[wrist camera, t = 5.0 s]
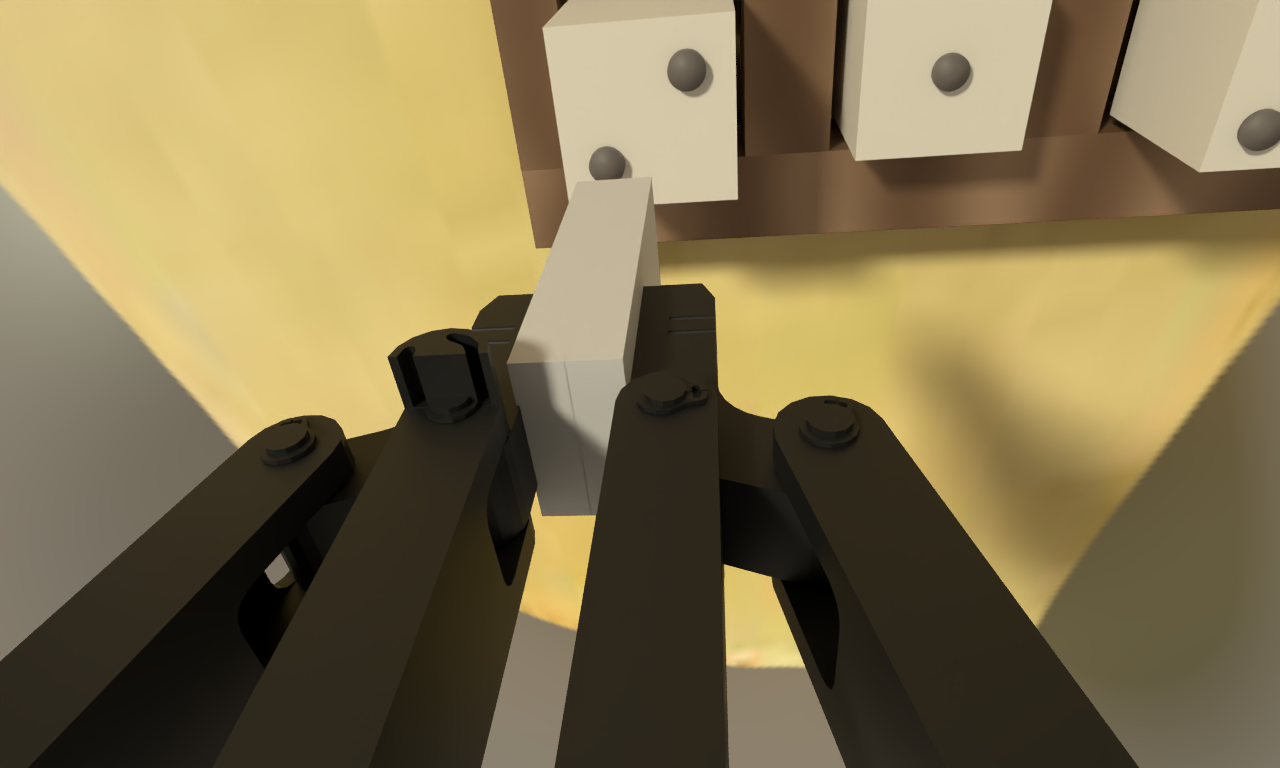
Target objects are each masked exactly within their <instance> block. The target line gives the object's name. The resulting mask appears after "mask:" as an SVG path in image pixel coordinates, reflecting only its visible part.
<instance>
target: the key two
mask: <svg viewBox="0 0 1280 768" xmlns="http://www.w3.org/2000/svg"><path fill="white" fill-rule="evenodd" d="M543 35H544V42H545V48H546V55H547V61H548V68H549V75H550V81H551V88H552V94H553V101H554V108H555V114H556V121H557V127H558V134H559V141H560V147H561V154H562V160H563V167H564V174H565V180H566V187H567V193H568V200H569V201H570V199H571V196H572V194H573V191H574V189H575V186H576V183H577V182H580V181H595V180H610V179H626V178H641V177H652V186H653V198H654V204H669V203H686V202H703V201H720V200H737V199H738V176H737V108H736V40H735V8H734V3H733V0H568V1H567V2H566V3H565V4H564V5H563V6H562V7H561V8H560V10H559V11H558V12H557V13H556V14H555V15H554V16H553V17H552V18H551V19H550V20H549V21H548V22H547V23H546V24H545V26H544V27H543Z"/></svg>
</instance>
